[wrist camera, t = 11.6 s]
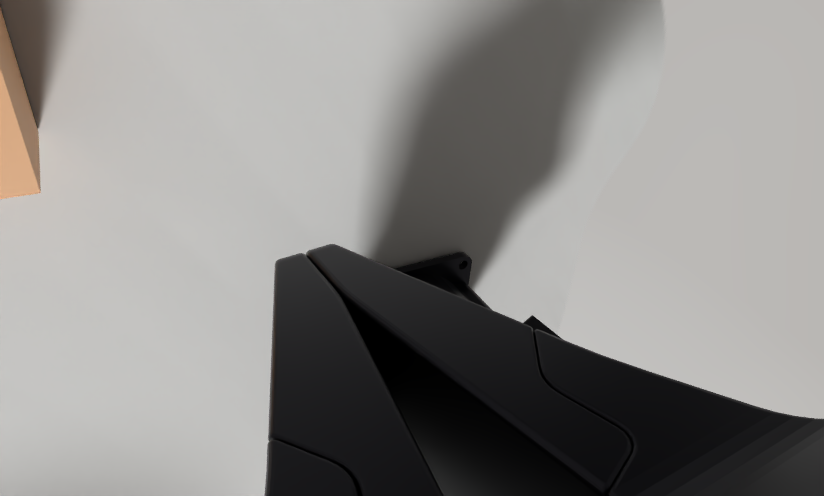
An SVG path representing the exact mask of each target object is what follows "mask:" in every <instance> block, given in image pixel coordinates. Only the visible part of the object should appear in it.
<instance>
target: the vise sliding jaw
mask: <svg viewBox="0 0 824 496" xmlns="http://www.w3.org/2000/svg"><path fill="white" fill-rule="evenodd" d="M38 193H41V192H40V164H39V136H38V130H37V126H36V123H35V120H34V116H33V113H32V110H31V107H30V103H29V100H28V97H27V93H26V90H25V87H24V83H23V80H22V77H21V74H20V70H19V67H18V64H17V60H16V57H15V54H14V51H13V47H12V44H11V41H10V37H9V34H8V31H7V28H6V24H5V21H4V18H3V14H2V11H1V8H0V199H4V198H11V197H17V196H24V195H31V194H38Z"/></svg>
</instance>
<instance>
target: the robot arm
mask: <svg viewBox="0 0 824 496" xmlns="http://www.w3.org/2000/svg"><path fill="white" fill-rule="evenodd" d="M462 261H463V262H462ZM461 262H462V263H461ZM460 263H461V264H460ZM471 264H472V260H471V258H470V257H469V256H468V255H467V254H466V253H464V252H460V253H456V254H452V255H448V256H444V257H440V258H436V259H432V260H428V261H424V262H420V263H417V264H413V265H409V266H405V267H401V268H397V269H393V268H390V267H388V266H385V265H383V264H381V263H378V262H376V261H374V260H371V259H369V258H366V257H364V256H362V255H359V254H357V253H354V252H352V251H350V250H347V249H345V248H343V247H340V246H338V245H335V244H329V245H326V246H322V247H319V248H316V249H312V250H309V251H308V252H307V253H306V255H305V254H303V253H299V254H296V255H292V256H289V257H286V258H282V259H279V260H277V261H276V263H275V279H274V305H273V331H272V357H271V383H270V409H269V435H268V439H269V443H268V449H267V473H266V486H265V496H824V419H814V418H806V417H798V416H792V415H787V414H782V413H778V412H773V411H770V410H767V409H763V408H760V407H756V406H753V405H750V404H747V403H744V402H741V401H738V400H734V399H731V398H728V397H725V396H722V395H719V394H716V393H713V392H710V391H707V390H704V389H700V388H697V387H694V386H692V385H689V384H686V383H683V382H680V381H676V380H673V379H670V378H667V377H664V376H661V375H658V374H655V373H652V372H649V371H646V370H643V369H640V368H637V367H634V366H632V365H629V364H626V363H623V362H620V361H617V360H614V359H611V358H609V357H606V356H603V355H600V354H598V353H595V352H593V351H590V350H588V349H585V348H582V347H580V346H577V345H574V344H572V343H570V342H567V341H565V340H563V339H561V338H560V337H559V336H558V335H556V334H555V333H554V332H553V331H551V330H550V329H549V328H548V327H546V326H545V325H544V324H543V323H541V322H540V321H539V320H538V319H536V318H535V317H534V316H533V315H532V316H531V317H530V318H528V319H527V320H526V321H525V322H524V323H521V322H519V321H516V320H514V319H512V318H509V317H507V316H505V315H502V314H500V313H497V312H495V311H493V310H492V309H491V308H490V307H489V306H488V305H487V304H486V303H485V302H484V301H483V300H482V299H481V298H480V297H479V296H478V295H477V294H476V293H475V292H474V291H473V290H472V289H471V288H470V287H469V286H468V284H469V277H470V271H471Z"/></svg>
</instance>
